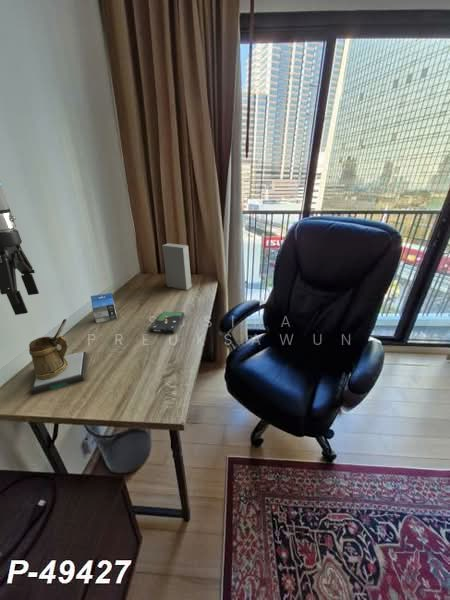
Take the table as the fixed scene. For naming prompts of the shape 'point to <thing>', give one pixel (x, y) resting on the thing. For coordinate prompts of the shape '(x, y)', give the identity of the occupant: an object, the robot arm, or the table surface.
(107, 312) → the tape cartridge
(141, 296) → the table surface
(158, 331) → the disk drive
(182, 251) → the upright grey slab
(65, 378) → the scale
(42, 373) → the wooden mug
